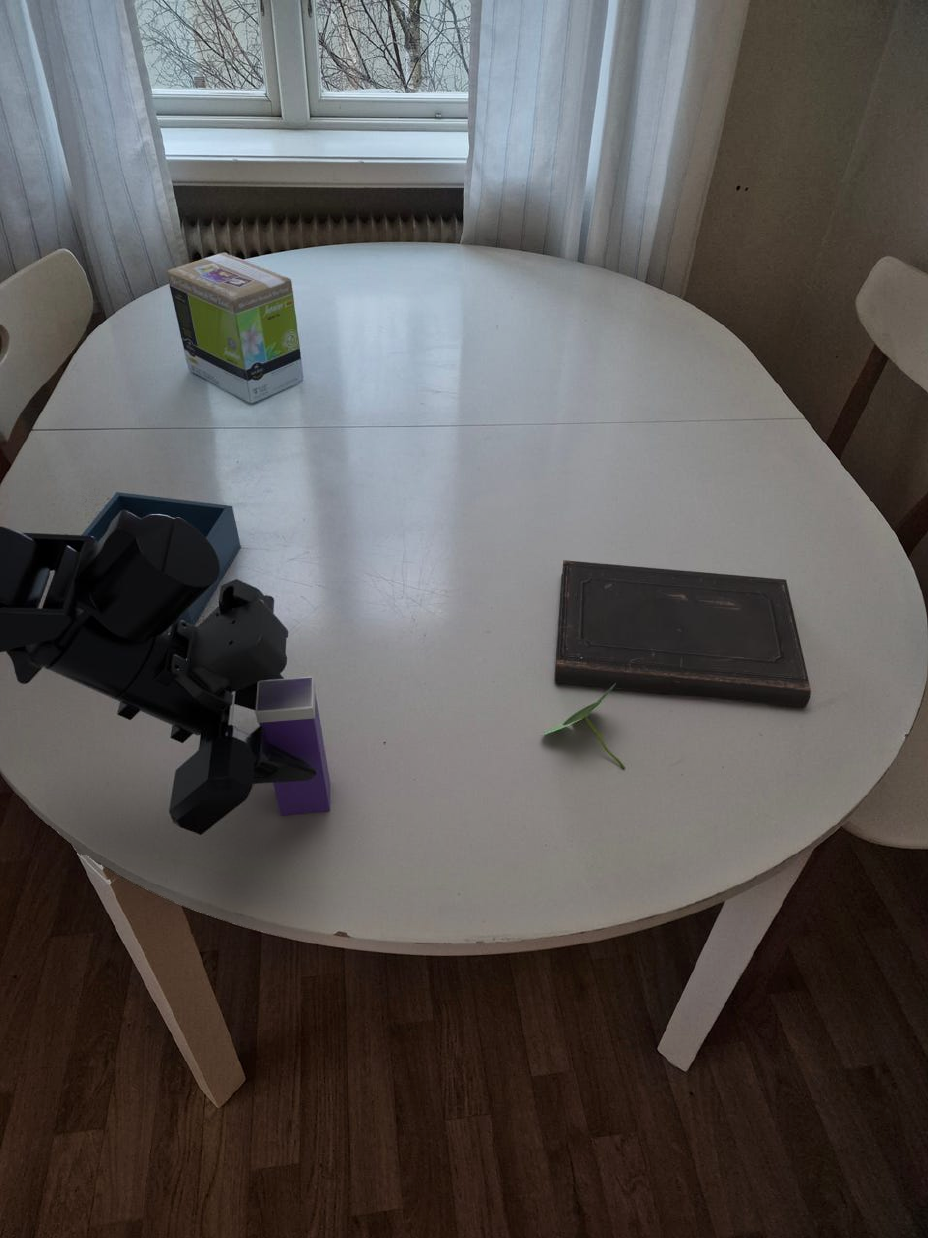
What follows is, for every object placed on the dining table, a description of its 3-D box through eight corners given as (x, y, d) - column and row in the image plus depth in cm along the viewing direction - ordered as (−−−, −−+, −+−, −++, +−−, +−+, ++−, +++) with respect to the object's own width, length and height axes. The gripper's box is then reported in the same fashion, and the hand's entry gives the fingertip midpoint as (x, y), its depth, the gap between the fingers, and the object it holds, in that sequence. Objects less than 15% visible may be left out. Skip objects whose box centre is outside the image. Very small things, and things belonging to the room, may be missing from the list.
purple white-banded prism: (280, 816, 70) (255, 712, 61) (281, 785, 72) (257, 680, 63) (330, 811, 70) (313, 707, 62) (330, 780, 73) (313, 676, 64)
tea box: (307, 380, 123) (293, 277, 113) (250, 406, 118) (231, 300, 107) (241, 347, 130) (224, 248, 120) (185, 371, 125) (162, 268, 115)
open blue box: (70, 610, 88) (53, 568, 84) (129, 532, 97) (116, 491, 93) (192, 627, 86) (180, 585, 82) (241, 546, 95) (232, 505, 92)
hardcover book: (561, 576, 92) (563, 559, 91) (780, 595, 90) (786, 579, 89) (553, 686, 81) (556, 669, 79) (804, 711, 79) (812, 694, 77)
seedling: (587, 784, 79) (547, 724, 79) (662, 739, 76) (620, 677, 77) (575, 805, 72) (531, 739, 73) (656, 757, 70) (610, 689, 70)
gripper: (183, 701, 48) (390, 798, 57) (214, 505, 62) (377, 607, 70) (80, 795, 53) (285, 872, 62) (130, 595, 66) (292, 680, 75)
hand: (313, 747), depth 67 cm, fingers open, 5 cm apart
